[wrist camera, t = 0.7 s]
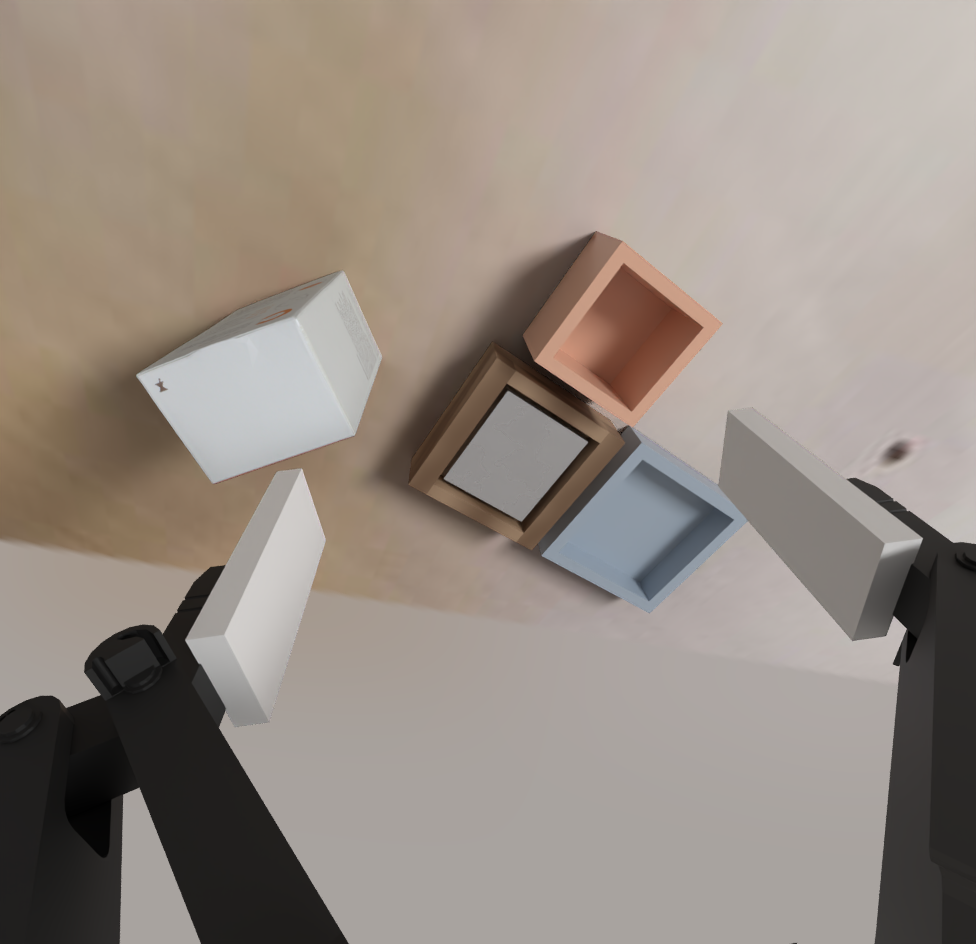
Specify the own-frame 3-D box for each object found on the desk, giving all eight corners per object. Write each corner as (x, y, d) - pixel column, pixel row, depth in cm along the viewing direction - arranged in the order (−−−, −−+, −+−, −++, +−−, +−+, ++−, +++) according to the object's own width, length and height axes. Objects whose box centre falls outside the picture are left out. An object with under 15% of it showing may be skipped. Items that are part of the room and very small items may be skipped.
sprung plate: (443, 470, 39) (443, 478, 38) (506, 384, 36) (508, 390, 35) (519, 513, 41) (521, 521, 40) (584, 434, 38) (588, 442, 37)
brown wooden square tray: (411, 458, 41) (408, 484, 38) (492, 341, 37) (497, 358, 33) (525, 521, 45) (531, 550, 41) (610, 420, 40) (625, 443, 37)
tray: (535, 533, 45) (541, 555, 43) (629, 425, 41) (641, 442, 38) (638, 589, 49) (649, 613, 46) (734, 496, 45) (752, 516, 42)
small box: (281, 395, 38) (209, 488, 27) (233, 310, 35) (128, 373, 24) (386, 358, 37) (357, 437, 26) (345, 267, 34) (293, 312, 23)
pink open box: (522, 335, 37) (534, 361, 32) (595, 231, 34) (622, 241, 29) (608, 394, 39) (632, 427, 34) (683, 302, 36) (722, 323, 31)
